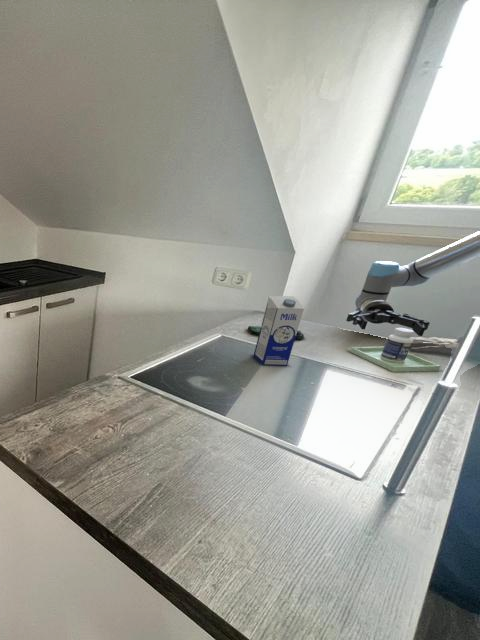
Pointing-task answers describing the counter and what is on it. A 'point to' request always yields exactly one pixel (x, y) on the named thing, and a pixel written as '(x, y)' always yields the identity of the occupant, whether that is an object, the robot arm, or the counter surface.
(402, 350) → the pill bottle
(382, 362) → the tray
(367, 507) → the counter surface
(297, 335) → the gun
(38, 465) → the counter surface
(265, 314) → the milk carton
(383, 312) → the robot arm
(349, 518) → the counter surface
